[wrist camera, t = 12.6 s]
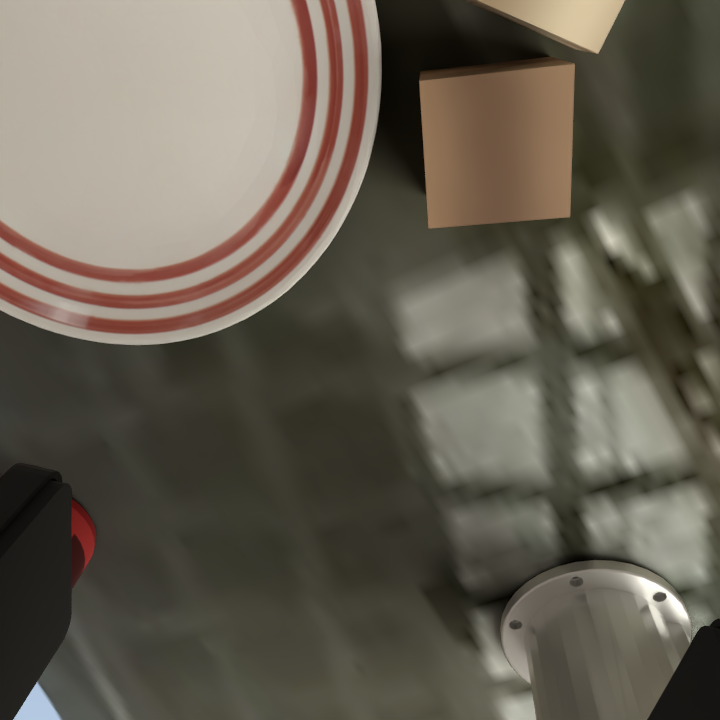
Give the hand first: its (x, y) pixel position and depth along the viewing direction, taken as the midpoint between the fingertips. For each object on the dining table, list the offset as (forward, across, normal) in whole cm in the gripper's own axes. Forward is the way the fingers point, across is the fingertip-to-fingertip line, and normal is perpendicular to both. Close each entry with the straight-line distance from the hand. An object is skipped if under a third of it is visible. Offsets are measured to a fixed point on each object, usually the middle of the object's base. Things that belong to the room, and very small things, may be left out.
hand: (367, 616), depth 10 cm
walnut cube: (+28, -2, -4) cm, 28 cm away
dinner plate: (+28, +16, -4) cm, 32 cm away
